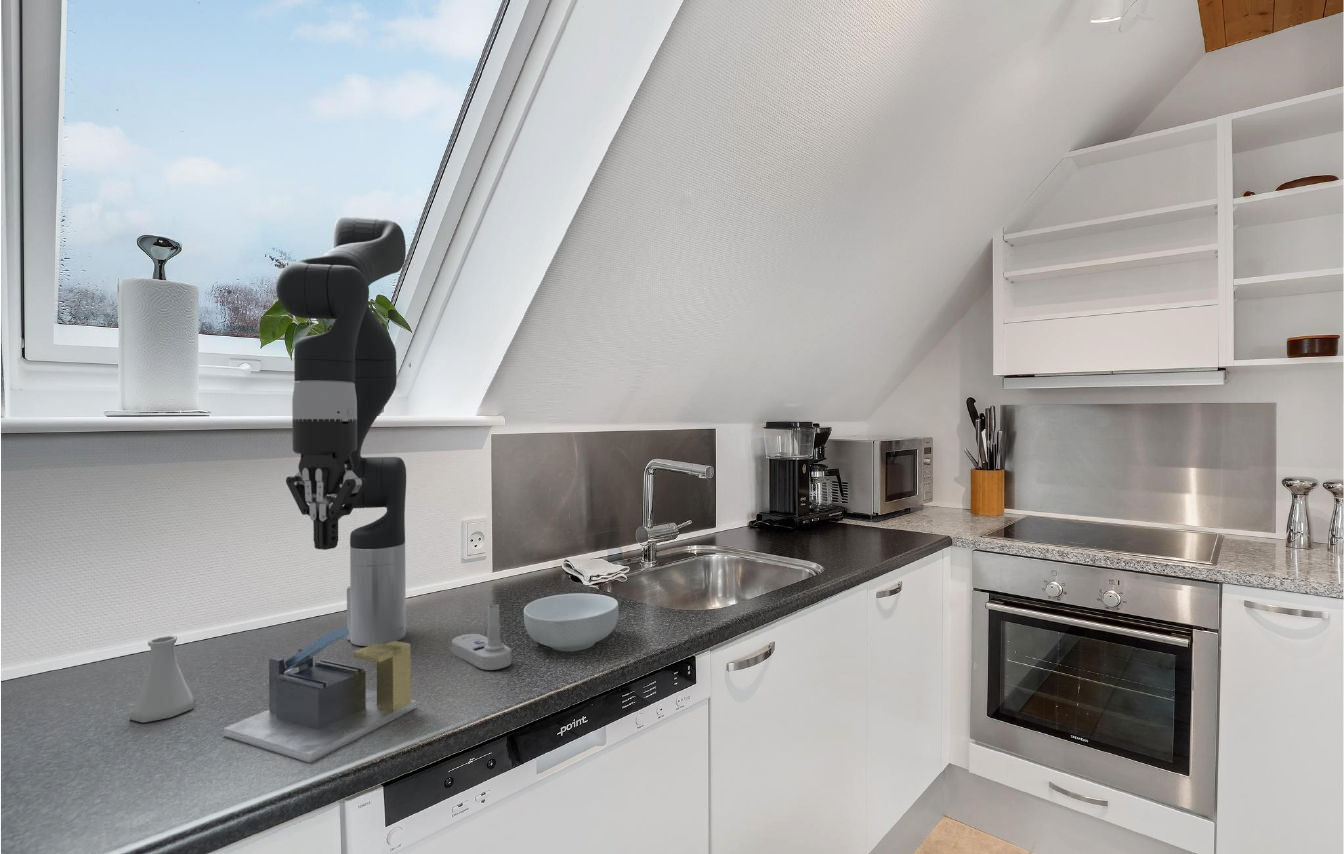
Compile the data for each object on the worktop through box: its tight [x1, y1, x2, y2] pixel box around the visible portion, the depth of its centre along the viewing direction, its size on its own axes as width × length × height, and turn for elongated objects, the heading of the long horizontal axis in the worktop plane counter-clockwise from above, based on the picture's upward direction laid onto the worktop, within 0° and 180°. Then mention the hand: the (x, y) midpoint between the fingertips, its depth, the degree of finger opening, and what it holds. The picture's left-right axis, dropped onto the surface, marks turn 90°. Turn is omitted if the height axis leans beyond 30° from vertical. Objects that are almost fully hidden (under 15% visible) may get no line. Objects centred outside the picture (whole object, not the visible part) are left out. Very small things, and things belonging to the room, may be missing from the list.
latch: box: [353, 640, 412, 712], centre depth 87 cm, size 4×5×8 cm
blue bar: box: [284, 626, 349, 673], centre depth 87 cm, size 12×3×1 cm
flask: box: [129, 634, 196, 723], centre depth 89 cm, size 7×7×10 cm
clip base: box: [223, 647, 417, 764], centre depth 86 cm, size 16×16×8 cm
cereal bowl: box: [523, 592, 619, 652], centre depth 116 cm, size 17×17×7 cm
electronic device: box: [451, 604, 512, 671], centre depth 109 cm, size 5×10×15 cm
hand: (326, 548), depth 86 cm, fingers closed
